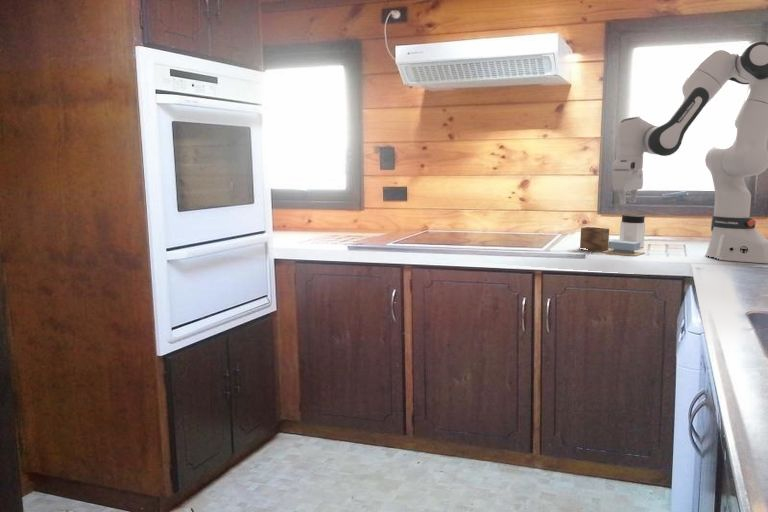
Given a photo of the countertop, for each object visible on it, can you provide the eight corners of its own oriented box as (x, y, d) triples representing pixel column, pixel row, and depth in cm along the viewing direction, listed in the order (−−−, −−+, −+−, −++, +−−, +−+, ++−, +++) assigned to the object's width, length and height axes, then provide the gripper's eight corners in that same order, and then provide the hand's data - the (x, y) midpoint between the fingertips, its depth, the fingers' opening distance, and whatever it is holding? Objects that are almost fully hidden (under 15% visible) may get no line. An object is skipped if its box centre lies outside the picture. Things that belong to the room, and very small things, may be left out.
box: (608, 250, 258) (609, 228, 257) (602, 252, 254) (604, 229, 253) (585, 248, 264) (586, 226, 262) (579, 249, 259) (580, 228, 258)
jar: (616, 246, 268) (618, 215, 266) (621, 244, 275) (623, 213, 273) (641, 248, 263) (643, 216, 262) (645, 246, 271) (647, 215, 269)
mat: (644, 253, 252) (644, 252, 252) (636, 256, 245) (636, 255, 245) (611, 250, 259) (611, 249, 259) (602, 252, 252) (602, 251, 252)
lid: (639, 252, 251) (640, 242, 251) (633, 254, 247) (634, 244, 246) (614, 249, 257) (614, 240, 257) (608, 251, 253) (608, 241, 252)
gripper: (630, 163, 257) (629, 201, 259) (609, 164, 241) (608, 205, 243) (648, 163, 253) (646, 201, 255) (628, 164, 237) (626, 205, 240)
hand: (627, 203), depth 249 cm, fingers open, 8 cm apart
